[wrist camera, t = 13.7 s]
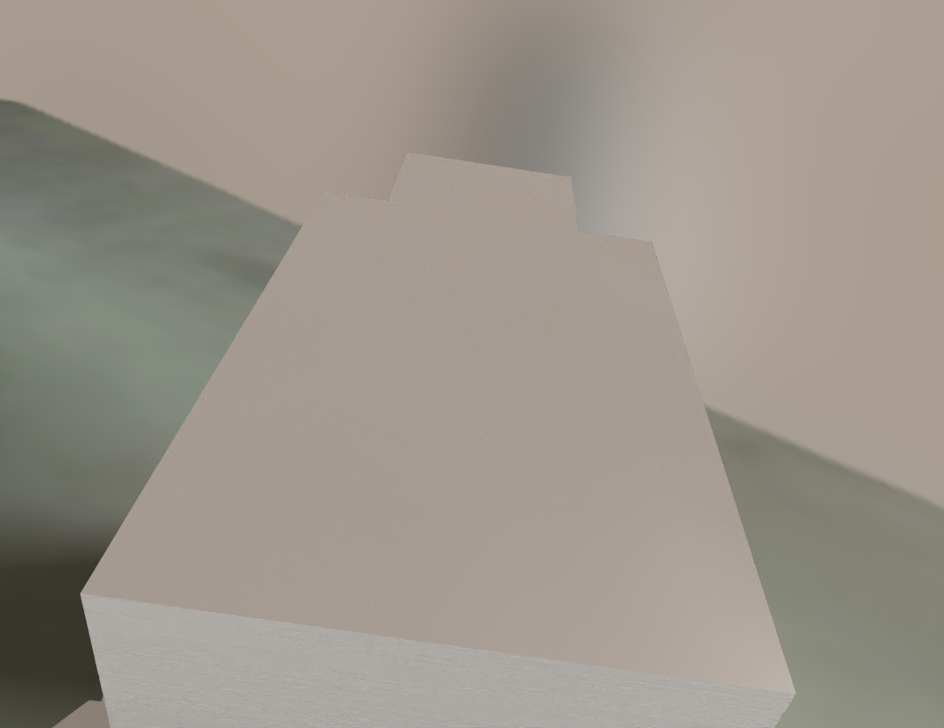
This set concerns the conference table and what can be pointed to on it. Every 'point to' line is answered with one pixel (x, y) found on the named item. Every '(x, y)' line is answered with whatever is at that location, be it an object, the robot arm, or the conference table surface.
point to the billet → (486, 191)
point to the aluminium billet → (441, 502)
